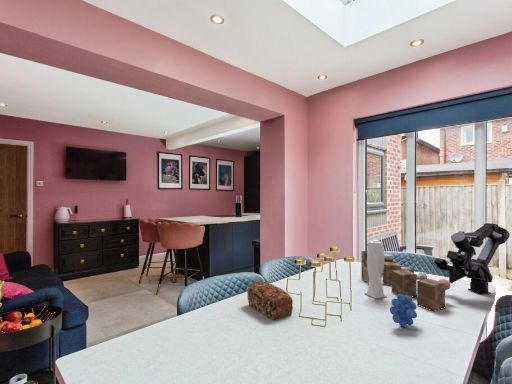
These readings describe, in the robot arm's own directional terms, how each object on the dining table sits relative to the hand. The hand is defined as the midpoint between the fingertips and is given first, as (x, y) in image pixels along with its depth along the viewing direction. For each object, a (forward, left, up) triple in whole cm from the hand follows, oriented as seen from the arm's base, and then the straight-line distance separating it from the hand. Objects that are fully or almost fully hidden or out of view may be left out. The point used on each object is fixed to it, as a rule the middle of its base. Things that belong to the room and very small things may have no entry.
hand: (450, 282), depth 124 cm
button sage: (+10, -9, -2) cm, 14 cm away
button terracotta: (+8, +3, -2) cm, 9 cm away
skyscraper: (+31, -7, -8) cm, 33 cm away
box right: (+13, +5, -8) cm, 16 cm away
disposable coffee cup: (+7, -41, -8) cm, 43 cm away
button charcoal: (+7, -23, -2) cm, 24 cm away
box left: (+13, -25, -8) cm, 29 cm away
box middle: (+16, -9, -8) cm, 20 cm away
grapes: (+36, +23, -8) cm, 43 cm away
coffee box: (+22, -29, -8) cm, 38 cm away
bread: (+83, +4, -9) cm, 83 cm away
